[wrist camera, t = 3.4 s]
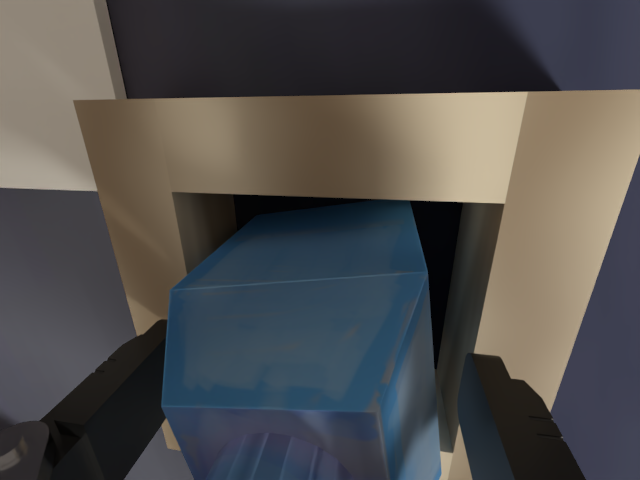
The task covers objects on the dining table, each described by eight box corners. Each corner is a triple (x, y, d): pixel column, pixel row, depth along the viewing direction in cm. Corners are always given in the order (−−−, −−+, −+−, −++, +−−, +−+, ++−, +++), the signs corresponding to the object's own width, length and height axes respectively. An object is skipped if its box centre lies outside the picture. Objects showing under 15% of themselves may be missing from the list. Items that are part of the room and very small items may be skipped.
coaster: (88, -79, 11) (73, -89, 10) (146, 189, 14) (136, 192, 14) (-118, -53, 12) (-141, -60, 12) (-21, 183, 16) (-36, 186, 15)
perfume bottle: (257, 214, 14) (-214, 620, 3) (408, 196, 12) (573, 843, 2) (287, 335, 16) (79, 828, 5) (420, 331, 15) (522, 1003, 4)
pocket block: (564, 94, 10) (662, 89, 7) (485, 416, 16) (515, 511, 12) (161, 101, 13) (72, 100, 9) (211, 378, 18) (167, 448, 14)
